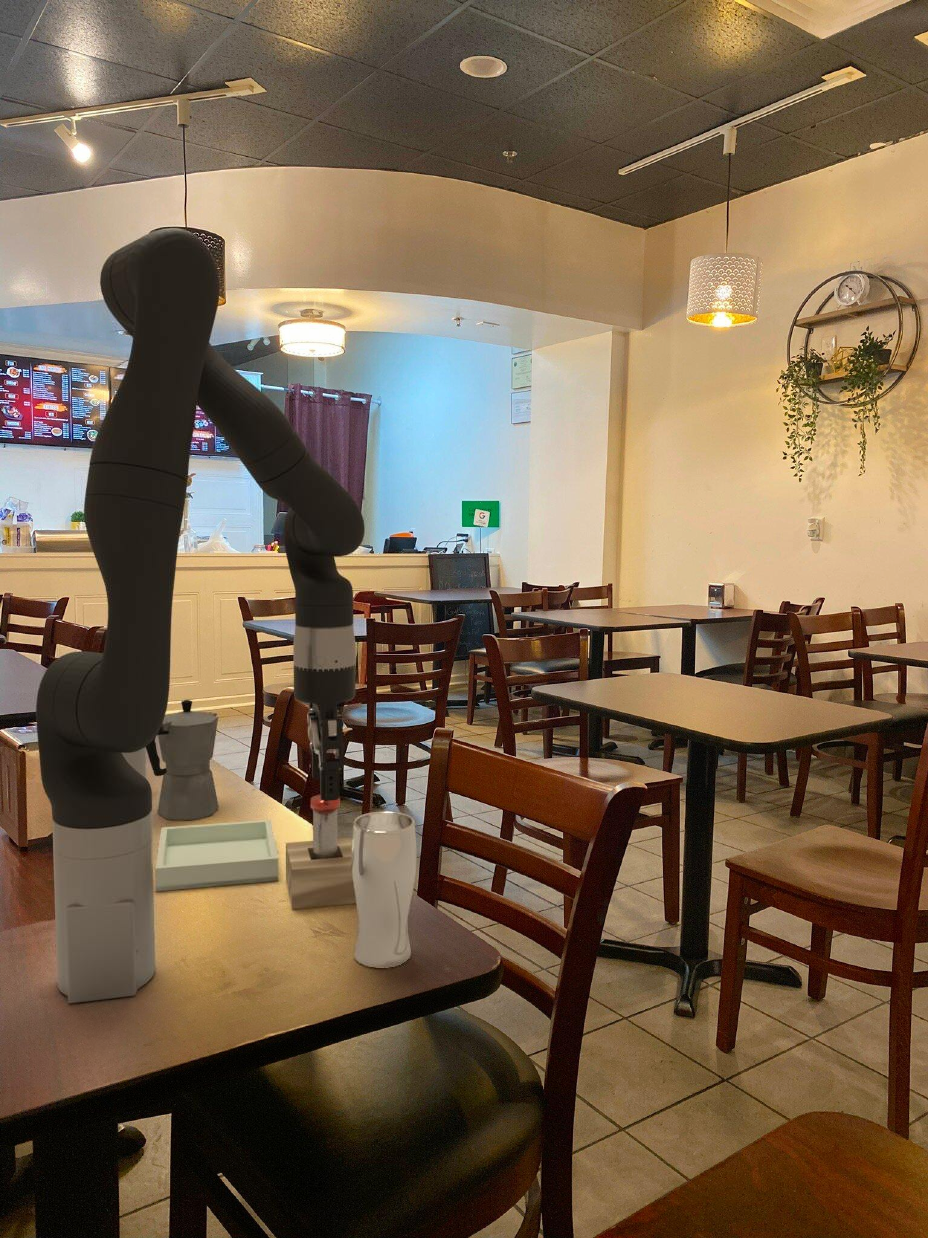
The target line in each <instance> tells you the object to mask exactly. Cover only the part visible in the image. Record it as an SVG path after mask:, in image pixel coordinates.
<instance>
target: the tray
mask: <svg viewBox="0 0 928 1238" xmlns="http://www.w3.org/2000/svg"><path fill="white" fill-rule="evenodd" d="M156 856H157V857H156V861H155V868H154V869H155V871H154V873H155V892H168V891H176V890H177V891H178V890H189V889H190V890H191V889H199V888H210V887H211V888H212V887H221V886H223V887H224V886H233V885H243V884H246V885H247V884H255V883H257V884H258V883H265V882H266V883H267V882H277V881H279V856H278V851H277V845H276V841H275V835H274V830H273V825H272V821H271V819H263V820H251V821H250V820H249V821H235V822H234V821H233V822H223V823H222V822H220V823H207V824H193V825H180V826H179V825H178V826H176V825H175V826H165V827H164V826H163V827H161V829H160V835H159V843H158V849H157V855H156Z"/></svg>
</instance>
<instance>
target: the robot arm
mask: <svg viewBox="0 0 928 1238" xmlns="http://www.w3.org/2000/svg"><path fill="white" fill-rule="evenodd" d="M219 276H220V275H219V271H218V267H217V264H216V261H215V258H214V256H213V255H212V252H211V251H210V249H209V248H208V247H207V245H206V244H205V243H204V241H203V240H201V239H200V238H199V236H197V235H196V234H195V233H193V232H191V231H188V230H186V229H183V228H177V227H170V228H162V229H158V230H155V231H153V232H149V233H147V234H145V235H143V236H141V237H139V238H137V239H136V240H133V241H132V242H130V243H128V244H126V245H124V246H122V247H121V248H119V249H117V250H115V251H114V252H113V253H111V254H109V256H108V257H107V259H106V260H105V261H104V263H103V266H102V268H101V271H100V279H99V285H100V292H101V295H102V298H103V301H104V302H105V305H106V307H107V309H108V311H109V312H110V313H111V314H112V316H113V317H114V319H116V321H117V322H118V323H119V324H120V325H121V327H122V328H123V329H124V330H125V331H126V332H127V333H128V335H130V336H131V338H132V343H131V348H130V355H129V358H128V362H127V365H126V368H125V369H126V370H125V372H124V375H123V377H122V379H121V380H120V381H121V382H120V384H119V386H118V388H117V390H116V393H115V394H114V396H113V399H112V400H111V402H110V405H109V406H108V409H107V411H106V413H105V416H104V417H103V420H102V423H101V425H100V427H99V430H98V432H97V435H96V437H95V439H94V443H93V446H92V451H91V453H90V459H89V464H88V465H89V466H88V471H87V479H86V487H85V492H84V493H85V495H84V504H83V506H84V507H83V518H84V519H83V520H84V525H85V530H86V534H87V538H88V540H89V542H90V543H89V544H90V546H91V549H92V552H93V555H94V558H95V561H96V563H97V567H98V569H99V571H100V574H101V578H102V580H103V583H104V587H105V592H106V598H107V599H106V600H107V601H106V602H107V625H106V633H105V635H106V636H105V642H104V646H103V647H104V648H103V649H104V650H103V652H94V651H72V652H69V653H65V654H63V655H61V656H59V657H58V658H56V659H55V660H54V661H52V663H51V664H50V665H49V666H48V668H47V669H46V670H45V672H44V673H43V676H42V677H41V680H40V683H39V687H38V690H37V696H36V704H35V705H36V706H35V709H36V710H35V717H36V718H35V720H36V734H37V746H38V755H39V757H38V759H39V766H40V778H41V779H40V780H41V782H42V783H41V785H42V788H43V790H44V793H45V795H46V797H47V798H48V800H49V803H50V805H51V816H52V817H51V819H52V820H51V822H52V825H51V826H52V853H53V854H52V855H53V856H52V859H53V882H54V885H53V886H54V912H55V913H54V917H55V919H54V920H55V921H54V922H55V946H56V947H55V949H56V968H57V970H56V972H57V975H56V976H57V977H56V978H57V988H58V990H59V991H60V992H61V993H62V994H63V995H64V996H66V997H67V1003H68V1004H75V1003H82V1002H92V1001H100V1000H108V999H109V1000H110V999H116V998H126V997H133V996H136V995H137V992H138V991H139V989H140V988H142V987H143V986H144V985H145V984H147V983H148V982H149V981H151V979H152V978H153V977H154V974H155V972H156V944H155V939H156V937H155V932H156V931H155V900H154V898H155V895H154V889H155V887H154V854H153V853H154V850H153V849H154V847H153V846H154V845H153V843H154V841H153V839H154V838H153V836H154V835H153V834H154V832H153V831H154V830H153V793H152V786H151V784H150V782H149V780H148V779H147V777H146V778H145V777H144V776H142V775H141V774H140V773H139V772H137V771H136V770H135V769H134V768H133V767H132V766H131V765H130V764H129V763H128V762H127V760H126V759H125V758H124V756H123V754H122V753H132V752H136V751H139V750H141V749H143V748H145V749H146V746H147V745H148V744H149V743H150V742H152V740H153V739H154V738H155V736H156V735H157V733H158V732H159V730H160V728H161V725H162V723H163V720H164V717H165V715H166V713H167V709H168V703H169V695H170V683H171V680H170V679H171V648H172V647H171V644H172V641H171V640H172V636H171V635H172V612H173V611H172V610H173V602H174V601H173V598H174V589H175V579H176V578H175V577H176V569H177V559H178V551H179V542H180V537H181V530H182V525H183V517H184V512H185V504H186V498H187V497H186V496H187V491H188V490H187V488H188V481H189V469H190V455H191V449H192V443H193V436H194V430H195V421H196V416H197V415H196V414H197V408H198V409H200V411H201V412H202V413H203V414H204V415H205V416H206V418H208V420H209V421H210V423H212V424H213V426H214V427H215V429H217V430H218V432H219V433H220V434H221V436H222V437H223V438H224V439H225V441H226V442H227V444H228V445H229V446H230V448H231V449H232V450H233V452H234V453H235V455H236V456H237V458H238V459H239V460H240V462H241V463H242V465H244V467H245V468H246V470H247V471H248V473H249V474H250V476H251V477H252V478H253V480H254V481H255V482H256V484H257V485H258V486H259V488H260V489H261V491H263V493H264V494H265V495H267V496H268V497H270V498H272V499H274V500H276V501H279V502H282V503H283V504H284V505H286V506H287V507H289V508H288V510H287V511H286V513H285V514H286V515H285V518H284V522H283V526H282V527H283V528H282V533H283V534H282V536H283V546H284V549H285V555H286V559H287V565H288V568H289V573H290V577H291V579H292V582H293V587H294V593H295V596H294V604H295V606H294V607H295V609H294V611H295V612H294V613H295V614H294V615H295V618H294V620H295V623H294V625H295V627H294V635H293V637H294V638H293V646H292V647H293V650H292V651H293V697H294V699H295V700H296V701H297V702H300V703H302V704H307V705H308V712H307V715H306V721H307V726H308V727H307V739H308V740H309V742H310V743H309V748H310V750H311V770H312V772H311V776H312V779H314V780H315V781H319V780H320V781H319V783H320V784H319V785H320V786H319V788H320V789H319V790H320V793H319V795H320V796H321V799H322V800H323V801H331V800H337V799H339V797H340V793H341V792H340V791H341V789H340V770H342V769H343V770H344V766H345V761H344V726H345V725H344V724H345V723H344V717H343V715H341V712H340V710H338V705H339V704H341V703H347V702H349V701H352V700H353V699H355V696H356V638H355V630H354V590H353V585H352V583H351V581H350V580H349V579H347V577H344V575H341V574H340V573H339V570H338V569H337V564H336V559H335V557H336V558H338V557H340V558H341V557H344V556H345V557H346V556H349V555H350V554H353V553H355V552H356V550H357V549H359V548H360V547H361V545H362V543H363V541H364V537H365V532H366V531H365V530H366V528H365V521H364V517H363V514H362V512H361V509H360V507H359V505H358V504H357V503H356V501H355V498H353V497H352V495H350V493H349V492H348V491H347V490H346V489H345V488H344V487H343V486H342V485H341V484H340V483H339V482H338V480H336V479H335V478H334V477H333V476H332V475H331V473H330V472H328V471H327V470H326V469H325V468H324V467H323V466H321V464H319V463H318V462H317V460H315V459H314V457H313V455H312V454H311V452H310V451H309V449H308V448H307V446H306V444H305V443H304V441H303V440H302V438H301V437H300V436H299V434H298V432H297V430H295V428H294V426H293V425H292V424H291V422H290V421H289V419H288V417H287V416H286V415H285V414H284V413H283V411H282V410H281V409H280V407H278V406H277V405H276V404H275V402H273V401H272V399H270V398H269V397H268V396H267V395H266V394H265V393H264V392H262V391H261V390H260V389H259V388H258V387H257V386H255V385H254V384H253V383H252V382H250V381H249V380H248V379H246V378H245V376H243V375H242V374H240V373H239V372H238V371H237V370H236V369H235V368H234V367H233V366H232V365H231V364H229V363H228V361H226V360H225V359H224V358H223V356H222V355H220V353H219V352H218V350H217V351H216V349H215V348H214V346H213V345H212V344H211V343H210V340H211V335H212V331H213V327H214V323H215V320H216V316H217V311H218V306H219V301H220V277H219ZM157 736H158V735H157ZM157 736H156V737H157ZM155 739H156V738H155ZM331 754H334V757H335V758H331Z"/></svg>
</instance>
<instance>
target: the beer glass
mask: <svg viewBox="0 0 928 1238" xmlns="http://www.w3.org/2000/svg"><path fill="white" fill-rule="evenodd" d="M415 822H416V821H415V818H413V817H412V816H411V815H408V814H407V813H401V812H398V811H397V812H396V811H386V810H385V811H372V812H368V813H367V812H366V813H364V814H360V815H359V816H357V817H356V818H354V819H353V822H352V824H353V826H352V837H351V838H352V846H351V874H352V883H353V889H354V895H355V901H356V903H355V906H356V912H357V920H358V925H357V927H358V929H357V937H356V942H355V947H354V959H355V961H356V962H357V961H358V962H357V963H359V964H360V963H361V964H363V965H366V966H372V967H376V968H379V967H384V968H385V967H391V966H397V965H400V966H402V965H403V964H402V963H404V962H405V963H407V962H408V961H409V960H410V958H411V954H412V949H411V944H410V937H409V930H408V929H409V928H408V922H409V912H410V906H411V902H412V897H413V892H414V886H415V879H416V874H417V873H416V870H417V841H416V840H417V839H416V838H417V837H416V823H415ZM408 959H409V960H408ZM407 960H408V961H407ZM406 961H407V962H406ZM405 963H404V964H405ZM361 964H360V965H361ZM401 964H402V965H401ZM363 965H362V966H363ZM366 966H365V967H366ZM397 967H398V966H397Z"/></svg>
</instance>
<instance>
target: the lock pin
mask: <svg viewBox="0 0 928 1238" xmlns="http://www.w3.org/2000/svg"><path fill="white" fill-rule="evenodd" d="M340 806H341V797H340V796H339V799H337V800H331V801H323V800H322V799H321V796H320V794H317V795H314V796H312V797H311V798H310V809H311V810H312V841H313V860H317V859H328V858H337V839H338V809H340Z"/></svg>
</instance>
